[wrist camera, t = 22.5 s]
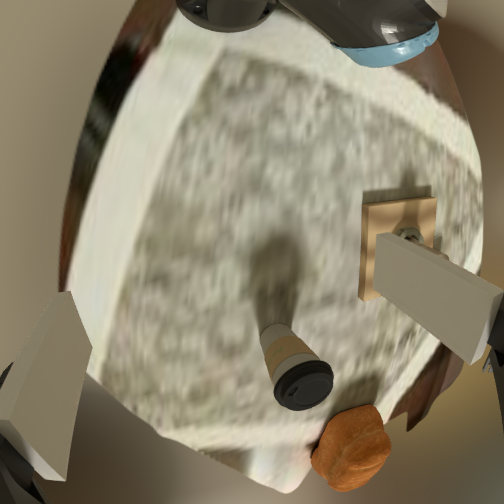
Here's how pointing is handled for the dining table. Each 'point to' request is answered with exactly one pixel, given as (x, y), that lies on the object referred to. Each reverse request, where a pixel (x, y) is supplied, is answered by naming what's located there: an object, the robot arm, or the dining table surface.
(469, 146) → the dining table surface
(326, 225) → the dining table surface
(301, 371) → the coffee cup
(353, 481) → the bread
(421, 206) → the stool seat
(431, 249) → the leg peg
